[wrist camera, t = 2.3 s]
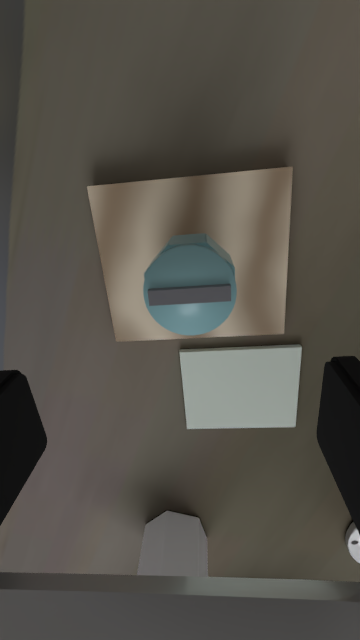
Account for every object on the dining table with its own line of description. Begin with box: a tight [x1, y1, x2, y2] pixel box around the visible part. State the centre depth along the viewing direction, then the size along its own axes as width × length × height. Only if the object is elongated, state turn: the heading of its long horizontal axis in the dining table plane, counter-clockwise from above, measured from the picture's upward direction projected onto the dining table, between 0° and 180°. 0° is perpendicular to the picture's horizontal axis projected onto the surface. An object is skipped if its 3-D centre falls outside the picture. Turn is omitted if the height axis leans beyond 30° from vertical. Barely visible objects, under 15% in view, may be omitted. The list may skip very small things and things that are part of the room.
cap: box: [143, 233, 237, 335], centre depth 22 cm, size 6×6×6 cm
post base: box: [87, 166, 293, 342], centre depth 24 cm, size 16×14×8 cm
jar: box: [137, 511, 208, 577], centre depth 38 cm, size 9×8×12 cm
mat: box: [180, 344, 302, 429], centre depth 33 cm, size 12×10×1 cm
